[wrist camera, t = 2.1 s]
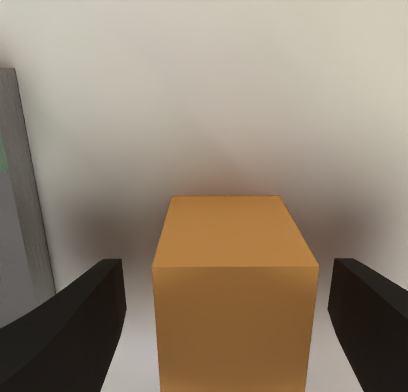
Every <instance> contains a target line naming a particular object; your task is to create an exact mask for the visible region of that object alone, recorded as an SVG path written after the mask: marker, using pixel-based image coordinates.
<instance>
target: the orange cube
mask: <svg viewBox="0 0 408 392" xmlns="http://www.w3.org/2000/svg"><path fill="white" fill-rule="evenodd" d="M319 267H320V266H319V265H318V263H317V261H316V259H315V257H314V256H313V254H312V252H311V250H310V249H309V247H308V245H307V243H306V241H305V240H304V238H303V236H302V234H301V233H300V231H299V229H298V227H297V225H296V224H295V222H294V220H293V218H292V217H291V215H290V213H289V211H288V209H287V208H286V206H285V204H284V202H283V201H282V199H281V197H280V196H172V197H171V201H170V204H169V208H168V212H167V215H166V219H165V222H164V226H163V229H162V233H161V236H160V240H159V243H158V247H157V250H156V254H155V257H154V261H153V265H152V276H153V291H154V305H155V319H156V333H157V347H158V362H159V376H160V390H161V392H305V385H306V377H307V368H308V360H309V351H310V343H311V334H312V326H313V317H314V309H315V301H316V292H317V284H318V275H319Z"/></svg>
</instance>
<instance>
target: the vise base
mask: <svg viewBox="0 0 408 392" xmlns="http://www.w3.org/2000/svg"><path fill="white" fill-rule="evenodd" d="M54 295H56V293H55V288H54V282H53V277H52V271H51V266H50V260H49V255H48V249H47V244H46V238H45V233H44V227H43V222H42V217H41V211H40V206H39V200H38V195H37V189H36V184H35V178H34V173H33V167H32V162H31V156H30V151H29V145H28V140H27V134H26V129H25V123H24V118H23V112H22V107H21V101H20V96H19V91H18V85H17V80H16V74H15V69H0V328H2V327H4V326H6V325H8V324H10V323H11V322H13V321H15V320H17V319H18V318H20V317H22V316H24V315H25V314H27V313H29V312H30V311H32V310H33V309H35V308H37V307H38V306H40V305H41V304H43V303H44V302H46V301H47V300H48V299H50V298H51V297H53V296H54Z"/></svg>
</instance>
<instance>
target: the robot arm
mask: <svg viewBox="0 0 408 392" xmlns="http://www.w3.org/2000/svg"><path fill="white" fill-rule="evenodd" d="M126 309H127V308H126V298H125V288H124V279H123V269H122V259H103V260H101V261H100V262H98V263H97V264H96V265H94V266H93V267H92V268H90V269H89V270H88V271H87V272H85V273H84V274H83V275H81V276H80V277H79V278H78V279H76V280H75V281H74V282H72V283H71V284H70V285H68V286H67V287H66V288H64V289H63V290H61V291H60V292H59V293H57V294H56V295H54V296H53V297H51V298H50V299H48V300H47V301H46V302H44V303H43V304H41V305H40V306H38V307H37V308H35V309H33V310H32V311H30V312H29V313H27V314H25V315H24V316H22V317H20V318H18V319H17V320H15V321H13V322H11V323H10V324H8V325H6V326H4V327H2V328H0V392H100V391H101V388H102V385H103V383H104V380H105V377H106V375H107V372H108V369H109V366H110V364H111V361H112V358H113V356H114V353H115V350H116V347H117V345H118V342H119V339H120V336H121V332H122V328H123V324H124V319H125V314H126ZM328 312H329V315H330V318H331V321H332V324H333V327H334V330H335V333H336V336H337V338H338V340H339V342H340V344H341V346H342V348H343V351H344V353H345V355H346V357H347V359H348V361H349V363H350V365H351V367H352V369H353V371H354V373H355V375H356V377H357V379H358V381H359V383H360V385H361V387H362V389H363V391H364V392H408V291H407V290H405V289H403V288H402V287H400V286H398V285H397V284H395V283H394V282H392V281H390V280H389V279H387V278H385V277H384V276H382V275H381V274H379V273H377V272H376V271H374V270H373V269H371V268H369V267H368V266H366V265H364V264H363V263H361V262H359V261H357V260H355V259H353V258H335V259H334V266H333V273H332V281H331V288H330V295H329V302H328Z"/></svg>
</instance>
